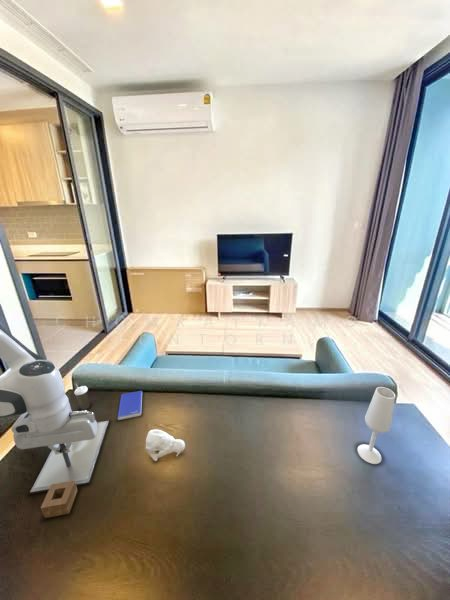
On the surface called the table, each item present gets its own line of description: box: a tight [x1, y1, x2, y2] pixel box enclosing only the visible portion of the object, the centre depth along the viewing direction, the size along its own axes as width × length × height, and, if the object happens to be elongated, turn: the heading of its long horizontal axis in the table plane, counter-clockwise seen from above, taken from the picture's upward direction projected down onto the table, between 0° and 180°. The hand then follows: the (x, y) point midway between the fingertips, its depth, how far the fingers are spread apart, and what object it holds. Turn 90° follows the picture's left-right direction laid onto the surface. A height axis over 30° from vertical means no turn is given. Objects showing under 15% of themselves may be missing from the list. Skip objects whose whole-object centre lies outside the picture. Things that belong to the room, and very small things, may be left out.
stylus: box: [59, 443, 71, 467], centre depth 73 cm, size 1×1×14 cm
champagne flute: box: [356, 386, 396, 465], centre depth 74 cm, size 7×7×24 cm
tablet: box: [29, 420, 110, 495], centre depth 80 cm, size 15×22×1 cm
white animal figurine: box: [145, 428, 186, 462], centre depth 78 cm, size 6×8×12 cm
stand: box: [40, 480, 79, 519], centre depth 65 cm, size 6×6×4 cm
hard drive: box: [117, 390, 143, 421], centre depth 98 cm, size 2×8×12 cm
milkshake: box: [73, 382, 91, 411], centre depth 97 cm, size 5×5×10 cm
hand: (64, 451), depth 73 cm, fingers closed on stylus, 1 cm apart
